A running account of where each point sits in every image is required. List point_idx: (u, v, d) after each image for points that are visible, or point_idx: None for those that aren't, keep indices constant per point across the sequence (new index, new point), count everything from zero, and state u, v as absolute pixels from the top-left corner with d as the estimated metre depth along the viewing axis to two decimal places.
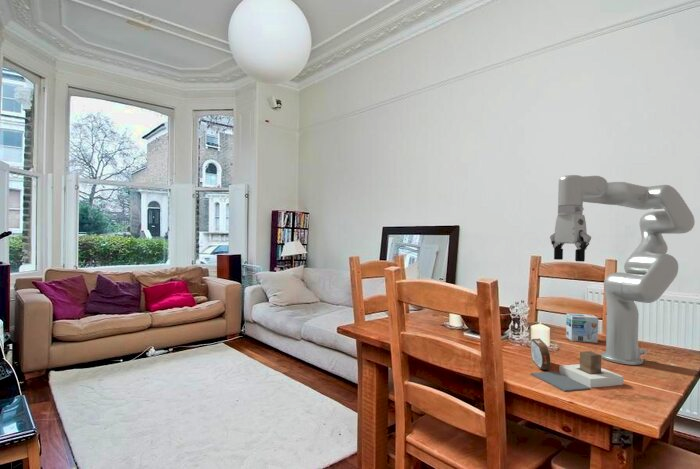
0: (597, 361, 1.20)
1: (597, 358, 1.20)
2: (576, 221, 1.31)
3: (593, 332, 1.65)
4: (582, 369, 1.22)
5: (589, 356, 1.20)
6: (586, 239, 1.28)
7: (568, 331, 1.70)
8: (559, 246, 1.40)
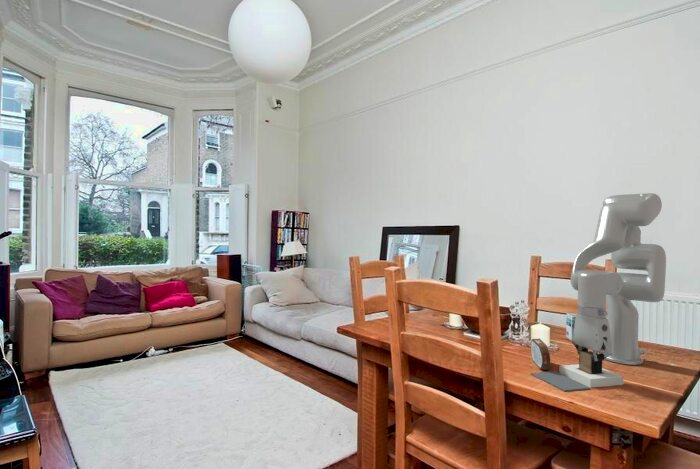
0: None
1: None
2: (599, 327, 1.17)
3: None
4: (582, 369, 1.22)
5: (589, 356, 1.20)
6: (606, 354, 1.16)
7: (568, 331, 1.70)
8: (584, 351, 1.24)
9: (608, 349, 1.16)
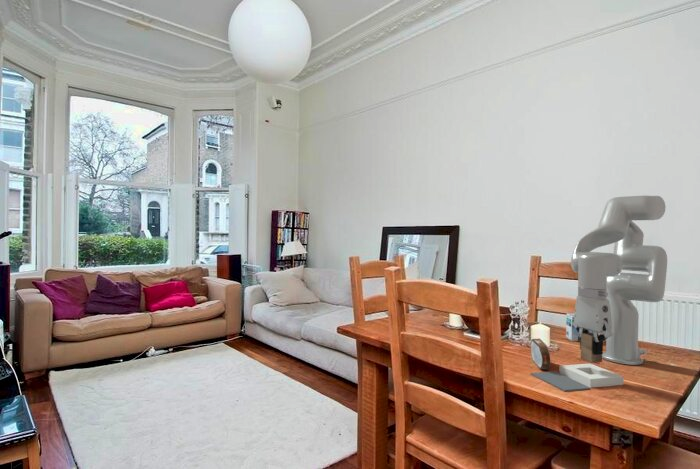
0: None
1: None
2: (600, 308, 1.17)
3: None
4: (583, 350, 1.22)
5: (590, 337, 1.20)
6: (606, 335, 1.16)
7: (568, 331, 1.70)
8: None
9: (609, 330, 1.16)
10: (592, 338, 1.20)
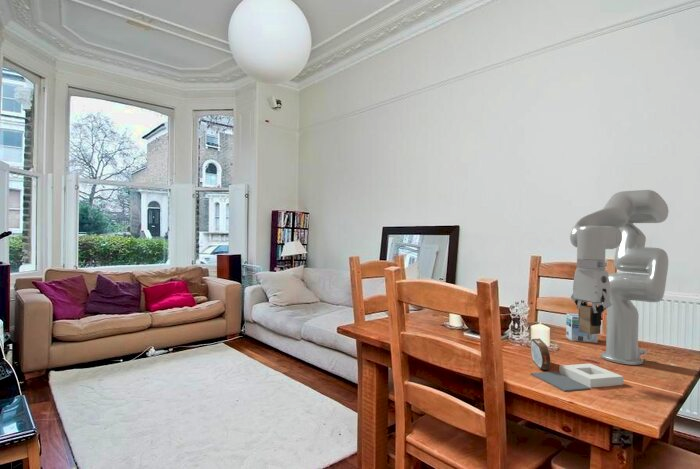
0: None
1: None
2: (599, 279, 1.17)
3: None
4: (581, 323, 1.22)
5: (588, 309, 1.20)
6: (605, 305, 1.16)
7: (568, 331, 1.70)
8: None
9: (607, 300, 1.15)
10: (591, 309, 1.19)
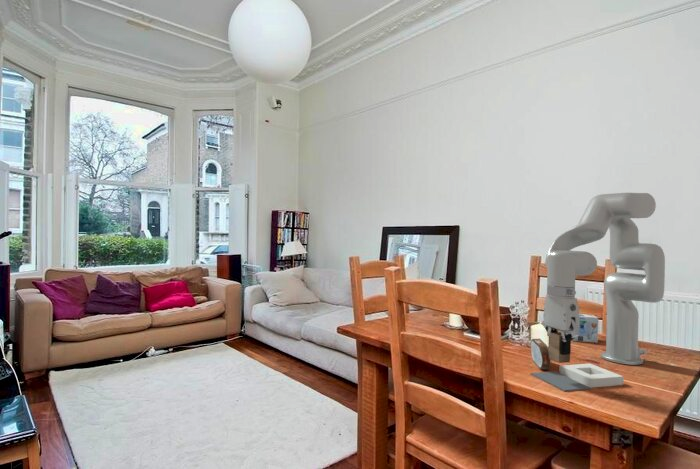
0: None
1: None
2: (567, 307, 1.14)
3: (593, 332, 1.65)
4: (551, 350, 1.19)
5: (558, 337, 1.17)
6: (573, 334, 1.13)
7: None
8: None
9: (576, 329, 1.13)
10: (560, 337, 1.17)
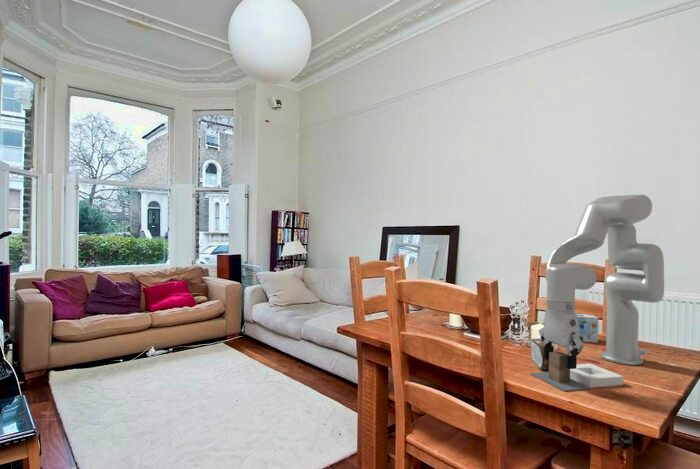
0: None
1: None
2: (567, 322, 1.14)
3: (593, 332, 1.65)
4: (551, 370, 1.19)
5: (558, 357, 1.17)
6: (578, 346, 1.11)
7: None
8: (549, 343, 1.23)
9: (579, 340, 1.12)
10: (560, 357, 1.17)
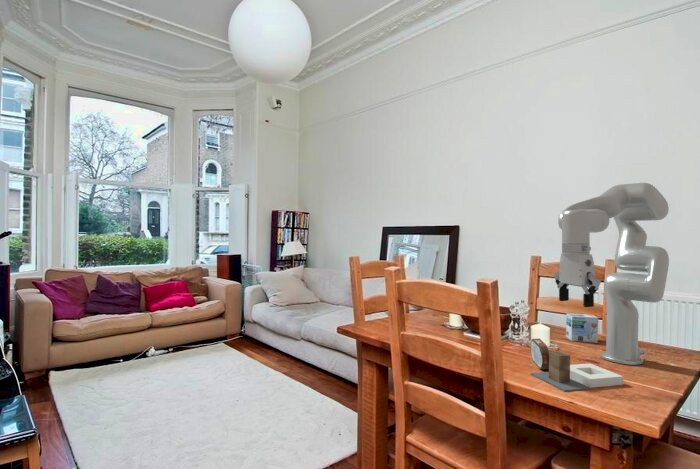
0: (566, 361, 1.17)
1: (566, 359, 1.17)
2: (583, 262, 1.17)
3: (593, 332, 1.65)
4: (551, 370, 1.19)
5: (558, 357, 1.17)
6: (595, 283, 1.14)
7: (568, 331, 1.70)
8: (564, 286, 1.27)
9: (595, 278, 1.15)
10: (560, 357, 1.17)
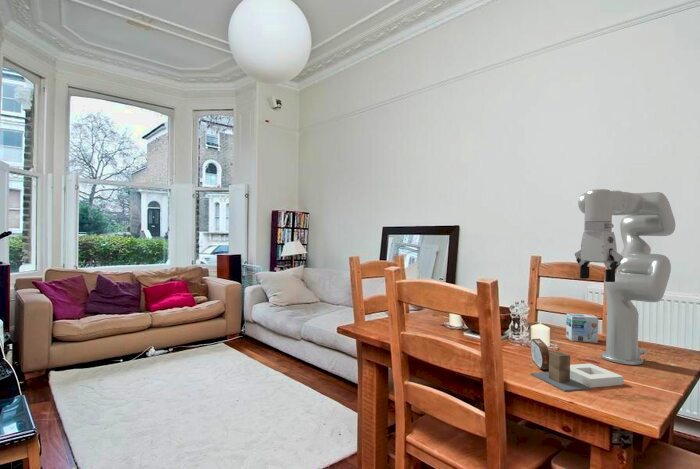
0: (566, 361, 1.17)
1: (566, 359, 1.17)
2: (606, 239, 1.22)
3: (593, 332, 1.65)
4: (551, 370, 1.19)
5: (558, 357, 1.17)
6: (617, 259, 1.19)
7: (568, 331, 1.70)
8: (585, 264, 1.32)
9: (617, 253, 1.20)
10: (560, 357, 1.17)
